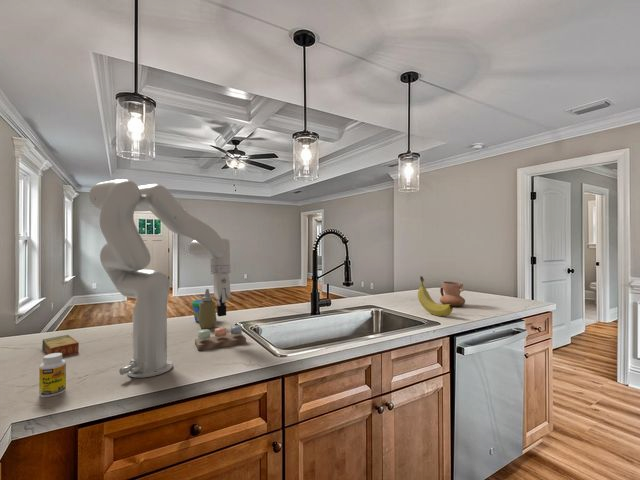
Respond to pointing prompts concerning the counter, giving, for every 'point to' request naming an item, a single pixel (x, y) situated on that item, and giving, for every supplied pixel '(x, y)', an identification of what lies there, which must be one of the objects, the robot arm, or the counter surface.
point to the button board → (220, 341)
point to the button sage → (203, 334)
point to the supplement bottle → (52, 375)
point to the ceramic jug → (452, 294)
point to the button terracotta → (220, 331)
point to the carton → (60, 345)
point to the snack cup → (196, 308)
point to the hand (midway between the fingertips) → (221, 315)
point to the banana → (432, 302)
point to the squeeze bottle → (207, 312)
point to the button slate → (236, 329)
